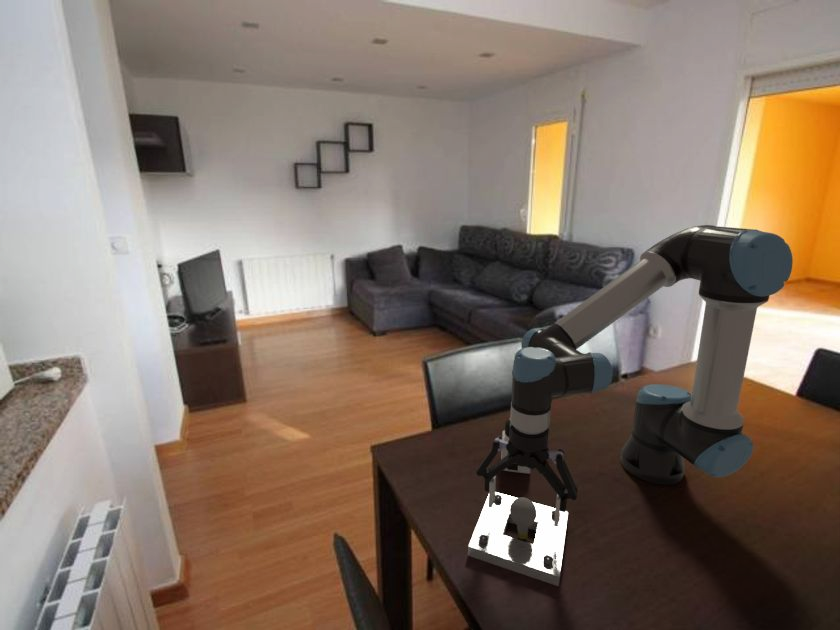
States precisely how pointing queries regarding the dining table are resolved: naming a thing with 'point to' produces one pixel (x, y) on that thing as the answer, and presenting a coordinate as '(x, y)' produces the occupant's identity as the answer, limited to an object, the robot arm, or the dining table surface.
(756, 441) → the dining table surface
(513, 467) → the container
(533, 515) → the light bulb
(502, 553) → the flange
